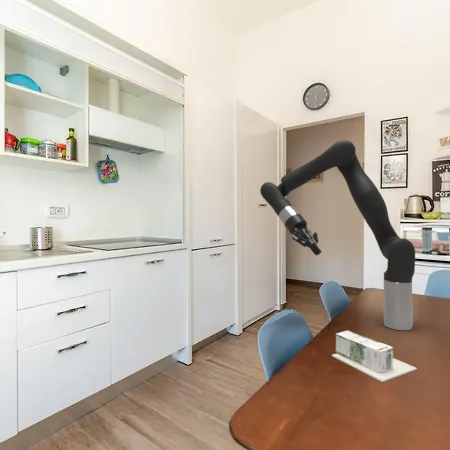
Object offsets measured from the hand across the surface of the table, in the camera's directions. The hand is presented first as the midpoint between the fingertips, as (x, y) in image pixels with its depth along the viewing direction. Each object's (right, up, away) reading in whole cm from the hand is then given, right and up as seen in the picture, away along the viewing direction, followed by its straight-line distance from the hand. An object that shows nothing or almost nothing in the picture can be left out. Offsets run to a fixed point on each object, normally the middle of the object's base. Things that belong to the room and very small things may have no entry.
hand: (318, 253), depth 107 cm
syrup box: (+1, -25, -17) cm, 30 cm away
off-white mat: (+7, -28, -24) cm, 38 cm away
